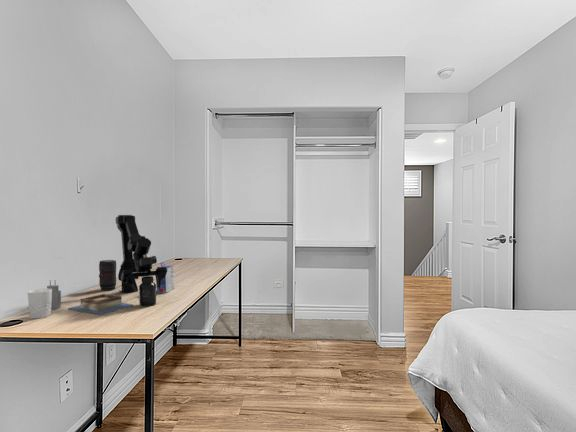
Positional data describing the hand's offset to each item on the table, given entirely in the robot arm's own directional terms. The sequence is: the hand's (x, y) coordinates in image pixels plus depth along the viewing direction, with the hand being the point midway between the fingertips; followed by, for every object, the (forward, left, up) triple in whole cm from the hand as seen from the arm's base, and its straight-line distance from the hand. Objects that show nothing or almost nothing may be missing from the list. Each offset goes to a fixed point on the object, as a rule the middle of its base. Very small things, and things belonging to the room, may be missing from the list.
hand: (148, 290), depth 160 cm
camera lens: (-45, +15, -7) cm, 48 cm away
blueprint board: (-15, -11, -7) cm, 20 cm away
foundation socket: (-15, -11, -7) cm, 20 cm away
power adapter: (-32, -21, -7) cm, 39 cm away
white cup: (-25, -30, -7) cm, 40 cm away
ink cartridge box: (-15, +25, -7) cm, 30 cm away
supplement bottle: (-1, +1, -7) cm, 7 cm away
